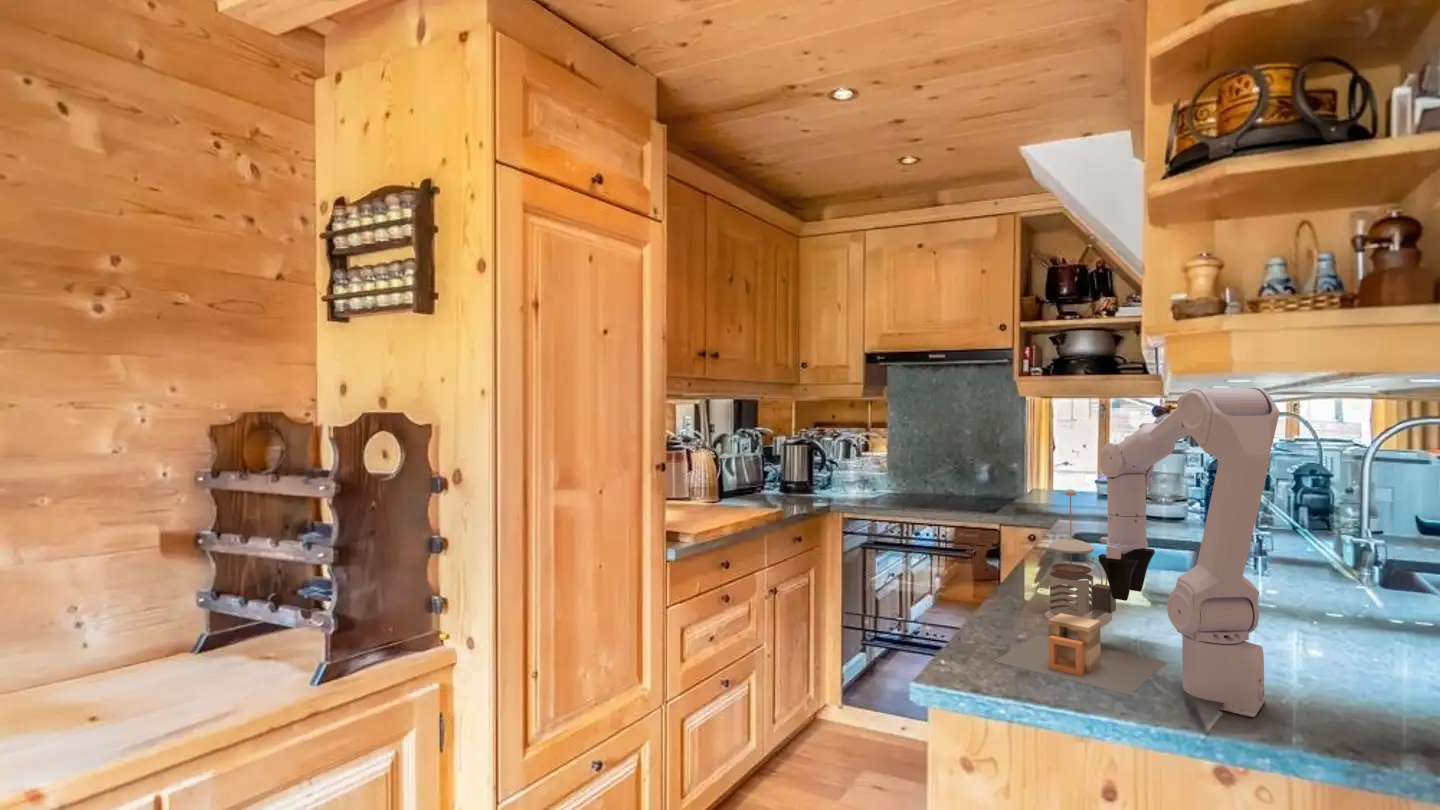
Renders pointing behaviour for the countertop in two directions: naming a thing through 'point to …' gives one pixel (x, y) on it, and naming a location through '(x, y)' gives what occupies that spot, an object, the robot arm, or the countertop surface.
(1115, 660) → the mounting plate
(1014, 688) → the countertop surface
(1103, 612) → the shaft
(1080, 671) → the spacer
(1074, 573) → the french press
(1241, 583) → the robot arm
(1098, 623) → the bearing block
